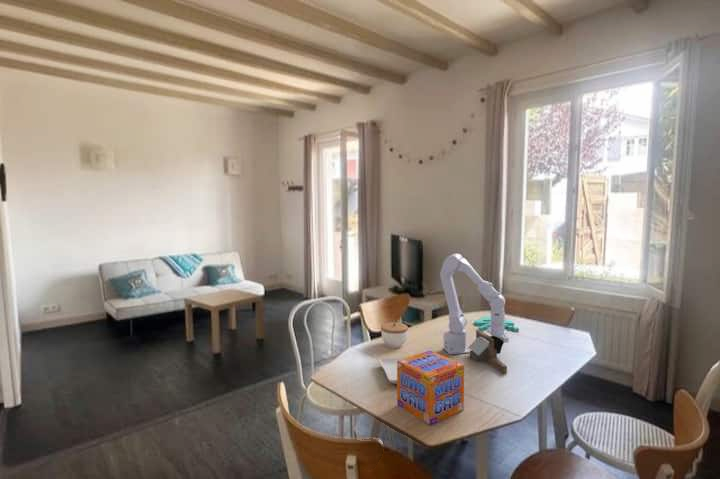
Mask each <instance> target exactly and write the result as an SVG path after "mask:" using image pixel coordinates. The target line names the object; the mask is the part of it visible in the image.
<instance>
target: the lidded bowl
mask: <svg viewBox="0 0 720 479" xmlns="http://www.w3.org/2000/svg"><path fill="white" fill-rule="evenodd" d="M380 329H381V331H380V332H381V338H382V341H383V342H384V343H385V345H386V347H388V348H392V349H398V348H402V347H403V345H404V344H405V343H406V341H407V338H408V333H409V332H408V331H409V330H408V329H409V327H408V325H406V324H404V323H401V322H395V321H394V322H385V323H384V324H382V325H381V327H380Z"/></svg>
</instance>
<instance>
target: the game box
mask: <svg viewBox="0 0 720 479" xmlns="http://www.w3.org/2000/svg"><path fill="white" fill-rule="evenodd" d="M407 357H408V358H405V359H402V360H398V361H397V384H396V386H397V387H396V394H397V395H396V396H397V397H396V398H397V399H396V401H397V402H396V403H397V404H396V405H397V406H399V407H400V408H402V409H403V410H404V411H406V412H407V413H409V414H411V415H412V416H414V417H416V418H417V419H419V420H421V421H422V422H424V423H425V424H427V425H428V426H432V425H434V424H436V423H438V422H440V421H443V420H444V419H447V418H449V417H451V416H453V415H456V414H457V413H459V412H461V411H463V410H464V409H465V405H464V404H465V403H464V402H465V364H463V363H460V362H458V361H456V360H453V359H451V358H448V357H446V356H444V355H441V354H439V353H437V352H435V351H432V350H427V351H425V352H421V353H418V354H417V353H416V354H414V355H412V356H407Z"/></svg>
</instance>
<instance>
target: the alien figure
mask: <svg viewBox="0 0 720 479" xmlns="http://www.w3.org/2000/svg"><path fill="white" fill-rule="evenodd" d="M474 325H475V326H476V325H477V326H476V327H478V328H477V330H481V331H482V332H484V331H485V330H486V331H487V328H490V327H491V316H484V317H481V318H477V319H474ZM504 330H508V331H513V332H514V333H519V332H520V329H519V326H515V323H514V322H513V320H508V319H505V323H504Z"/></svg>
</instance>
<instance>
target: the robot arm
mask: <svg viewBox="0 0 720 479" xmlns="http://www.w3.org/2000/svg"><path fill="white" fill-rule="evenodd" d="M467 260H468V259H466V258H465V257H463V256H462V254H460V253H456V252H455V253H453V254H451V255H448V256H447V257H446V258H445V259H444V261H443V262H442V266H441V269H440V273H439V277H440V280H441V284H442V288H443V292H444V295H445V301H446V304H447V310H448V312H449V314H448V320H449V322H448V329H449V331H445V332H444V334H443V347H442V349H443V350H445V352H447V353H448V354H449V355H458V354H468V353H469V354H470V350H468V349H467V344H466V343H467V331H466V329H465V327H466V326H467V324H468V321H467V318H466V317H465V315H464V313H463V311H462V309H461V306H460V303H459V298H458V294H457V291H456V287H455V283H454V282H455V281H454V278H453V276H454V274H455V272H456V271H458V272H461V273H465V275H467V276H468V277H469V279H471V280H472V281H473V283H475V284H476V286H477V291H478V292H479V293H480V294H481V296H483V297H484V299H485V300H486V301H487V302H489V306H490V317H491V327H490V328H487V330H486V332H487V333H489V334H490V335H489V336H490V337H491V338H493V339H494V348H495V349H496V350H497V355H499V354H501V351H502V349H503V345H504V343H509V337H508V336H507V333H508V332H507V331H505V329H504V323H505V320H506V319H505V316H506V313H505V305H506V298H505V297H504V295H503V294H501V292H500V291H497V290H496V288H494V286H493V285H494V284H493V283H492V282H489V280H488V281H487V280H484V279H483V278H482V277H481V276H480V275H479V273H478V272H477V271H476V270H475V268H473V266H472V264H470V263H469V262H468V261H467Z"/></svg>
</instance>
